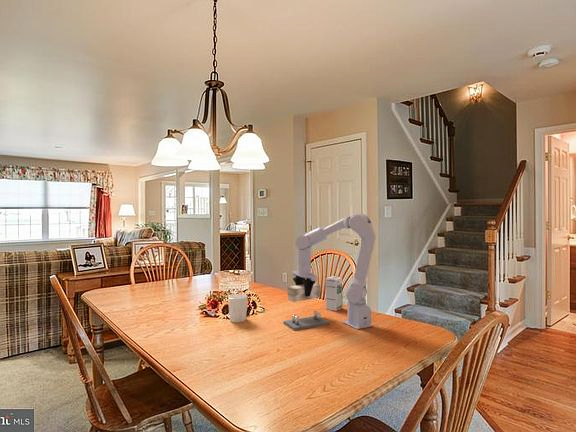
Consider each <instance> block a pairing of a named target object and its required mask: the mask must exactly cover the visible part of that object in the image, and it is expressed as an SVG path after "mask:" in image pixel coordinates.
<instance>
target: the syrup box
mask: <svg viewBox="0 0 576 432" xmlns="http://www.w3.org/2000/svg"><path fill="white" fill-rule="evenodd" d="M325 309H326V310H328V311H335V312H337V311H340V310H341V309H343V277H341V276H333V275H331V276H329V277H326V278H325Z"/></svg>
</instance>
